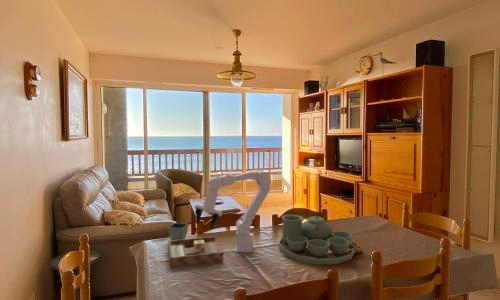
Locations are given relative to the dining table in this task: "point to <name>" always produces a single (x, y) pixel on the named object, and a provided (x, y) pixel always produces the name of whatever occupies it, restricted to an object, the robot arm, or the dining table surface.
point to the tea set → (314, 241)
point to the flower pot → (178, 231)
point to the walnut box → (193, 252)
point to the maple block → (199, 245)
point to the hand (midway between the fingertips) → (204, 225)
